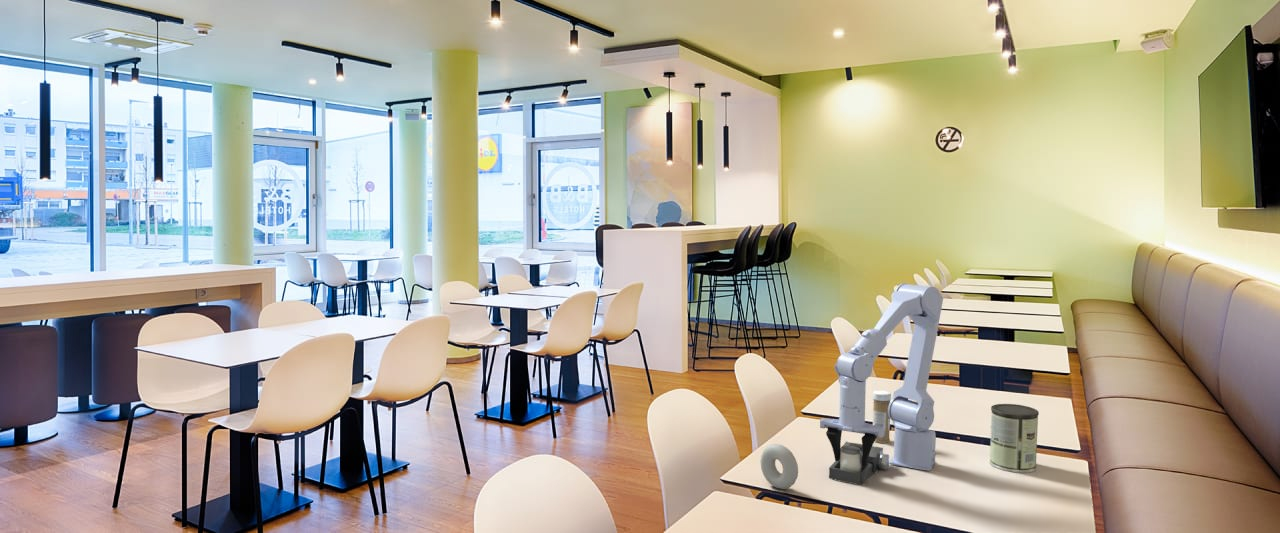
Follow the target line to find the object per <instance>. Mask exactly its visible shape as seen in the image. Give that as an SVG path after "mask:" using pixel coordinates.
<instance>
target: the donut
mask: <svg viewBox="0 0 1280 533" xmlns="http://www.w3.org/2000/svg"><path fill="white" fill-rule="evenodd" d="M776 460H777V461H779V462H780V464H781V466H782V473H781V472H780V471H779V470H778V468H777V466H776ZM798 466H799V465H798V462H797V460H796V457H795V455H794V454H793V452H792V451H791V450H790V449H789V448H788V447H786V446H784V445H783V444H779V443H773V444H770V445H768V446H766V447H765V448H764V449H763V451H762V454H761V456H760V469H761V472H762V475H763V477H764V478H765V480H766V481H767V482H768V484H770V485H771V486H772V487H774V488H776V489H779V488H780V489H781V490H786V489H789V488H791V487H793V485H794V484H795V483H796V481H797V479H798V475H799V467H798ZM780 489H779V490H780Z"/></svg>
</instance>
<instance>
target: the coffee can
mask: <svg viewBox="0 0 1280 533" xmlns="http://www.w3.org/2000/svg"><path fill="white" fill-rule="evenodd" d="M990 410H991V422H990V424H991V425H990V449H989V450H990V453H989V454H990V456H989V457H990V458H989V464H990V465H991V466H992V467H994V468H996V469H998V470H1002V471H1005V472H1009V473H1010V472H1011V473H1020V474H1022V473H1023V474H1027V473H1033V472H1035V471H1036V470H1037V450H1038V446H1037V445H1038V426H1039V425H1038V424H1039V423H1038V422H1039V420H1038V419H1039V415H1040V414H1039V410H1038V409H1036V408H1033V407H1030V406H1026V405H1023V404H1022V405H1021V404H1015V403H997V404H994V405H991V406H990Z"/></svg>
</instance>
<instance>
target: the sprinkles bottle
mask: <svg viewBox="0 0 1280 533" xmlns="http://www.w3.org/2000/svg"><path fill="white" fill-rule="evenodd" d="M872 393H873V394H872V400H873V408H872V409H873V410H872V425H876V426H880V427H885V435H884V437H883V438H881V437H878V436H877V438H876V440H875V441H874V443H880V444H887V443H889V442H890V440H891V439H890V430H891V419H890V418H889V415H888V406H889V404H890V402H891V400H892V394H891V392H890V391H887V390H874V391H873V392H872Z"/></svg>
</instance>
